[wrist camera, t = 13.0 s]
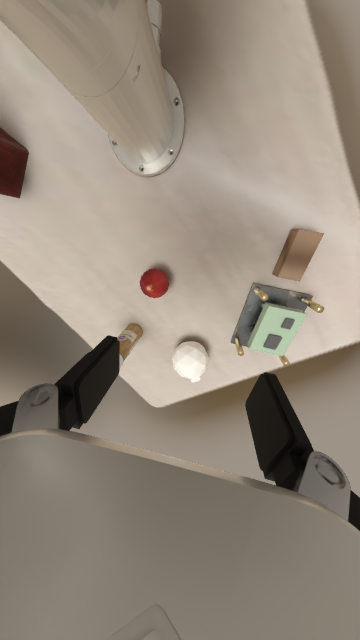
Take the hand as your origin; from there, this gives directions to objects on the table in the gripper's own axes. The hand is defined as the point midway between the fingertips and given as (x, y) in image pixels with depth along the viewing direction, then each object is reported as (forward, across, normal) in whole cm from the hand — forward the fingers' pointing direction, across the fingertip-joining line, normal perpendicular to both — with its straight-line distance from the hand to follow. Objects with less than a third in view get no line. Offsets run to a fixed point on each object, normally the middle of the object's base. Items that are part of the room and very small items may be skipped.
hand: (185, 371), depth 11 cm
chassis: (+28, -17, +6) cm, 34 cm away
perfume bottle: (+28, -2, +20) cm, 35 cm away
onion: (+28, +9, +2) cm, 30 cm away
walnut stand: (+28, -16, -8) cm, 33 cm away
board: (+24, -17, +6) cm, 30 cm away
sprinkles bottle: (+28, +14, +17) cm, 36 cm away
